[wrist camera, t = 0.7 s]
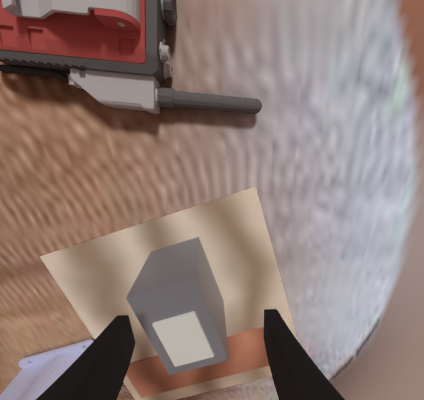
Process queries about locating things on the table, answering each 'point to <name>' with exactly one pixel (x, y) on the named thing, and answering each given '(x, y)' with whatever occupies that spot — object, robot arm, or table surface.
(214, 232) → the subfloor panel
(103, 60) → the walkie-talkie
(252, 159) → the table surface
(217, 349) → the block
